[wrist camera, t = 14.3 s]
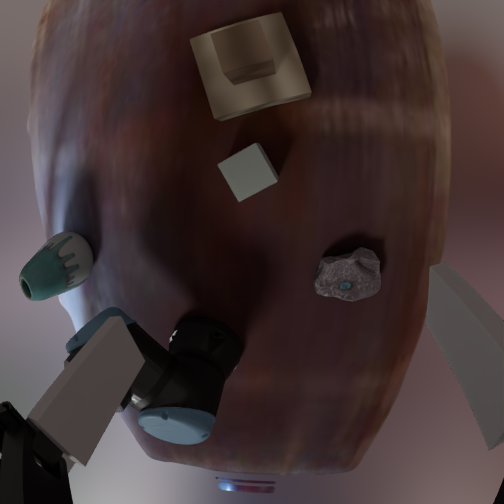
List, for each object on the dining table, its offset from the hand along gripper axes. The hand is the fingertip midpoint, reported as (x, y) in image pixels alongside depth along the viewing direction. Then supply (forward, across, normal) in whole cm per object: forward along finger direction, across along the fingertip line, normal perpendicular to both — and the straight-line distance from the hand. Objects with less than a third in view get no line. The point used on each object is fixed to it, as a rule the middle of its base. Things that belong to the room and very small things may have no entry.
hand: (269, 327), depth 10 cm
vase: (+35, -44, -2) cm, 56 cm away
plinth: (+35, 0, +20) cm, 40 cm away
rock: (+35, +8, -16) cm, 39 cm away
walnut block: (+30, 0, +20) cm, 36 cm away
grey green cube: (+35, -4, +4) cm, 35 cm away
